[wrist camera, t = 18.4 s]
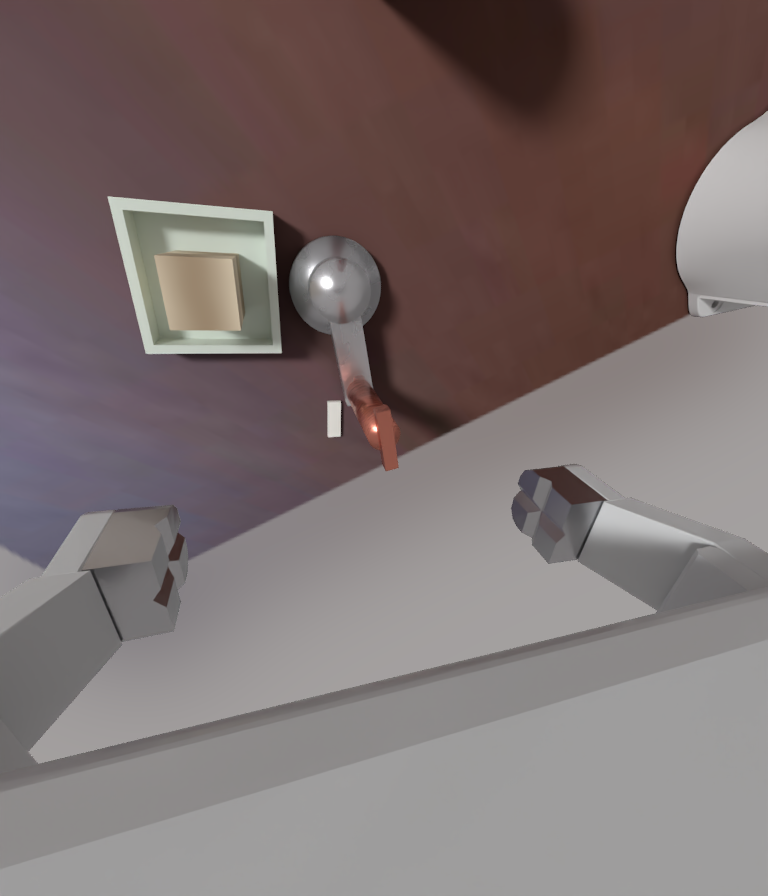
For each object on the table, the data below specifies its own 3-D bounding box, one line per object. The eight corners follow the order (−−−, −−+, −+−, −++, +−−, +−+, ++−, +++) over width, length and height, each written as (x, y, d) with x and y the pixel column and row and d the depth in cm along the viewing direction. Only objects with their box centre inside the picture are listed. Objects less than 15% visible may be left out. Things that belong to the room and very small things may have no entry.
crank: (301, 262, 27) (317, 277, 18) (360, 251, 27) (402, 261, 19) (336, 414, 33) (360, 478, 25) (383, 403, 34) (423, 461, 26)
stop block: (238, 253, 26) (232, 259, 21) (245, 312, 28) (240, 330, 23) (175, 250, 25) (153, 255, 20) (187, 312, 27) (169, 330, 22)
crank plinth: (379, 239, 29) (383, 239, 28) (374, 332, 32) (378, 335, 31) (286, 232, 27) (287, 232, 26) (291, 331, 30) (292, 334, 29)
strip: (340, 400, 34) (341, 401, 34) (340, 435, 36) (340, 436, 36) (327, 400, 34) (327, 402, 34) (327, 435, 36) (328, 437, 36)
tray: (272, 212, 26) (272, 211, 24) (280, 344, 31) (281, 353, 29) (121, 199, 24) (107, 196, 22) (154, 344, 28) (145, 353, 26)
